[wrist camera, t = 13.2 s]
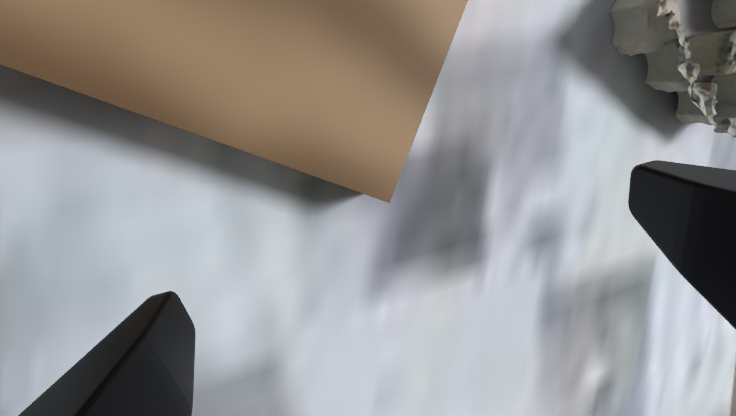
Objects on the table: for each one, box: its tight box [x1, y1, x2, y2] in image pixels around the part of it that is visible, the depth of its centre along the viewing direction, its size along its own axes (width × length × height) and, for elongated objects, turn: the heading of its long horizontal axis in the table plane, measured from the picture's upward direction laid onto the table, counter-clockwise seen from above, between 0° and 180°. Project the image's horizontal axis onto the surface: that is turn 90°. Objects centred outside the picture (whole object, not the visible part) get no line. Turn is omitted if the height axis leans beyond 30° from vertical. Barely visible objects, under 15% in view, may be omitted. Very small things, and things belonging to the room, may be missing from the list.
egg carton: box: [610, 0, 736, 138], centre depth 24 cm, size 11×8×4 cm
